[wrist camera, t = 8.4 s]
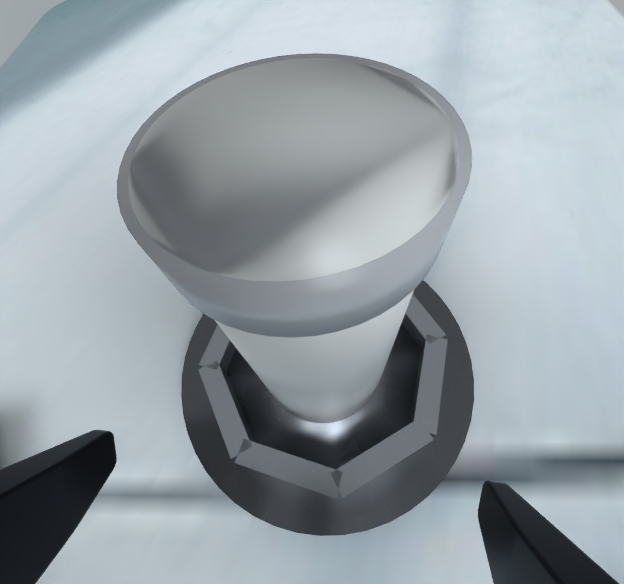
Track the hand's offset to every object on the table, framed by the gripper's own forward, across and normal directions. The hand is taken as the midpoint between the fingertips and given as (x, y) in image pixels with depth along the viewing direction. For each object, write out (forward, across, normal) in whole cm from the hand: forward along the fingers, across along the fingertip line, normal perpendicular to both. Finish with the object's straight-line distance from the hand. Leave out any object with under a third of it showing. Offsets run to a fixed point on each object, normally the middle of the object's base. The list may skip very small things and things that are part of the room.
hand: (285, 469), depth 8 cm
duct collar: (+10, 0, +2) cm, 10 cm away
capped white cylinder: (+9, 0, +2) cm, 10 cm away
